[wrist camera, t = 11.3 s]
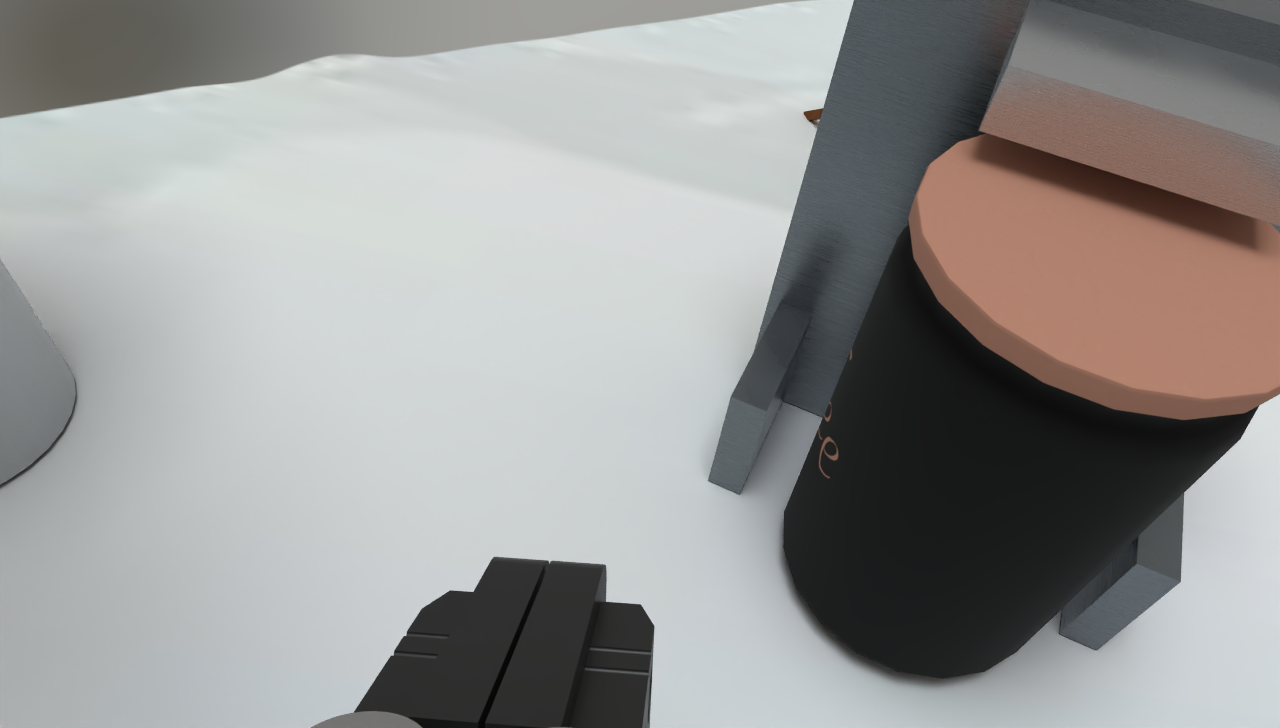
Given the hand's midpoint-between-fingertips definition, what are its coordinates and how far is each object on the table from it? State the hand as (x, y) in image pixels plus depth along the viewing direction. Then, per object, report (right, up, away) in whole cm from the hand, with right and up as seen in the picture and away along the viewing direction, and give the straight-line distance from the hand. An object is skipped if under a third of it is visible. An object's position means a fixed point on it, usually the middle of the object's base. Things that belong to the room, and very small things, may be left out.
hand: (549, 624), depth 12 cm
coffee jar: (+12, -5, +25) cm, 28 cm away
